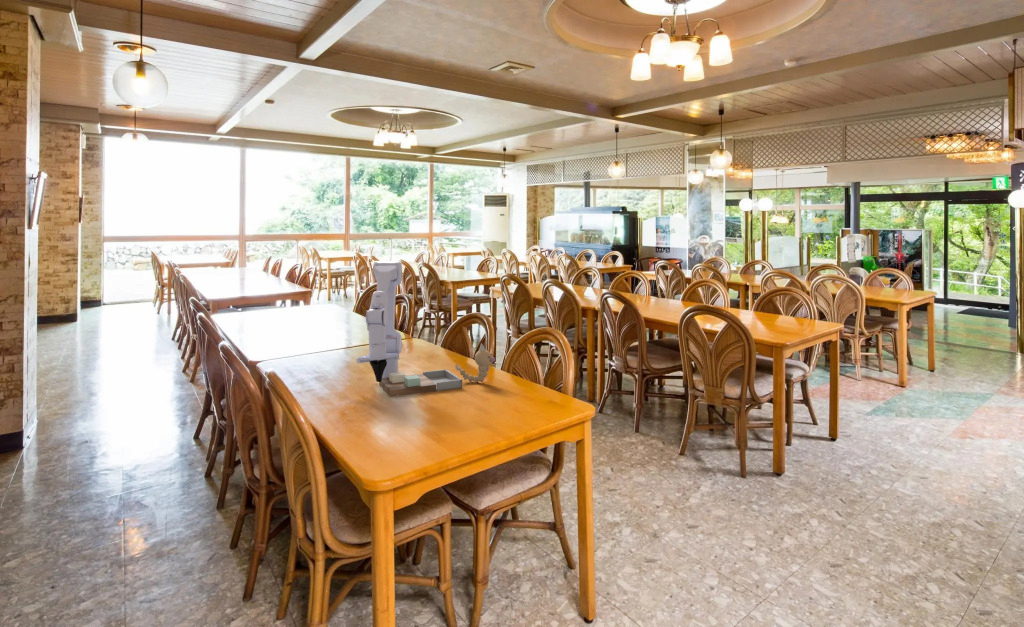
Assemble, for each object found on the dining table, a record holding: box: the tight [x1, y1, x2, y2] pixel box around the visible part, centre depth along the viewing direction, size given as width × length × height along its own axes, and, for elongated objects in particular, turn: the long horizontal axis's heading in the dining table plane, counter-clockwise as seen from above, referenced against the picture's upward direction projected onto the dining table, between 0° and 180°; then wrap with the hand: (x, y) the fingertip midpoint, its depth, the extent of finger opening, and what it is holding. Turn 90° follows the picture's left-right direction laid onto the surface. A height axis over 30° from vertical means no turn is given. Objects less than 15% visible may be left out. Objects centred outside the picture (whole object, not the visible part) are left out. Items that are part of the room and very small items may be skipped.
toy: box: [455, 342, 496, 384], centre depth 213 cm, size 6×15×15 cm, turn 78°
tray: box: [422, 368, 463, 392], centre depth 212 cm, size 17×9×3 cm, turn 26°
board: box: [378, 373, 437, 398], centre depth 207 cm, size 17×16×2 cm
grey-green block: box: [404, 374, 421, 387], centre depth 202 cm, size 4×4×3 cm
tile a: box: [389, 371, 405, 383], centre depth 207 cm, size 4×4×3 cm
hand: (378, 381), depth 204 cm, fingers closed
